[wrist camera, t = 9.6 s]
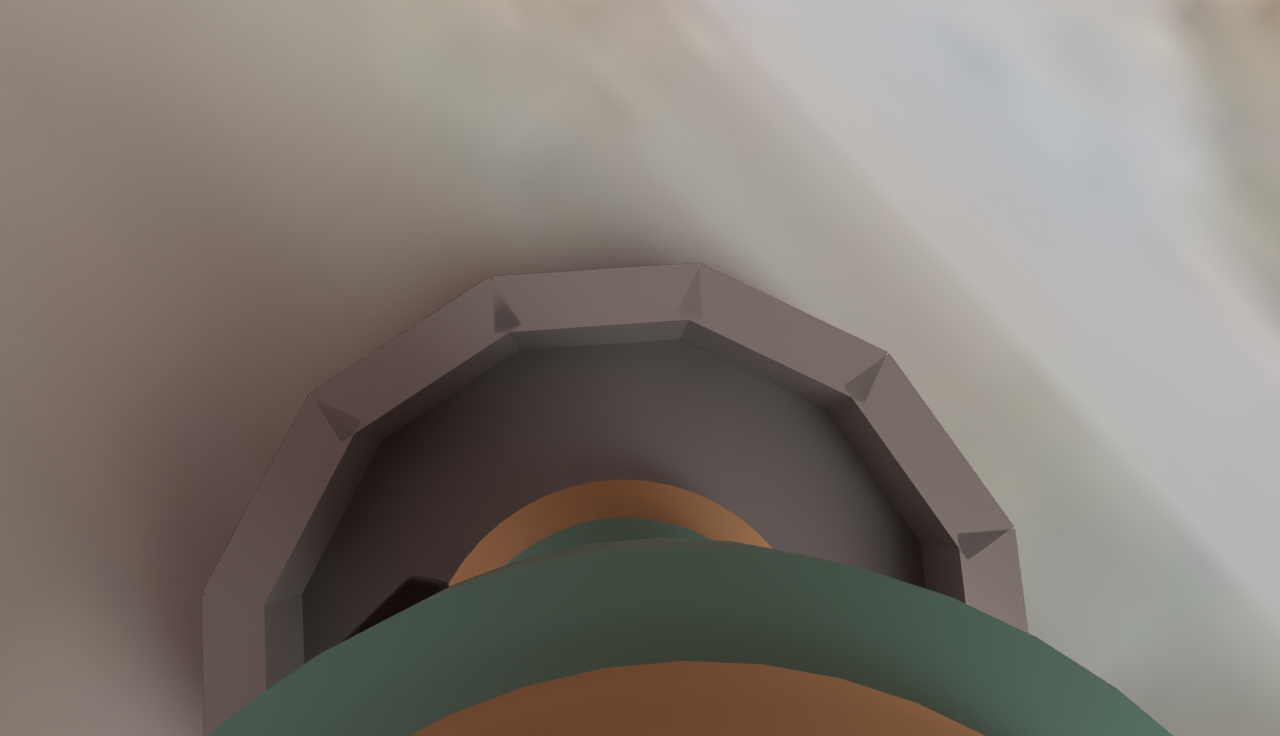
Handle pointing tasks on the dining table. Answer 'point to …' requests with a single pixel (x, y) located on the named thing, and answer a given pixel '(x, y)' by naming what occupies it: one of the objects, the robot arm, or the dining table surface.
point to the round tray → (592, 454)
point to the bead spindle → (681, 643)
